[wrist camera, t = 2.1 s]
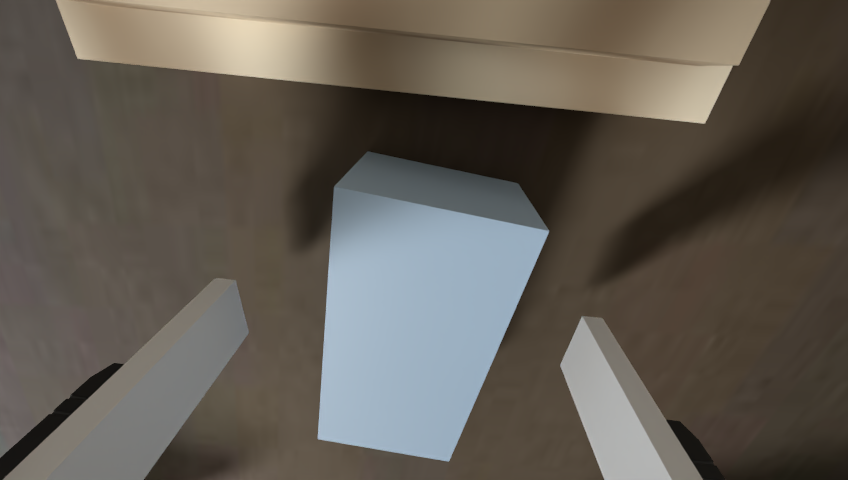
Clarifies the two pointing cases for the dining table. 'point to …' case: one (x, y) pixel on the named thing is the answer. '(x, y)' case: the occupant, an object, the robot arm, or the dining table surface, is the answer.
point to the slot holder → (444, 46)
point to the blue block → (418, 300)
